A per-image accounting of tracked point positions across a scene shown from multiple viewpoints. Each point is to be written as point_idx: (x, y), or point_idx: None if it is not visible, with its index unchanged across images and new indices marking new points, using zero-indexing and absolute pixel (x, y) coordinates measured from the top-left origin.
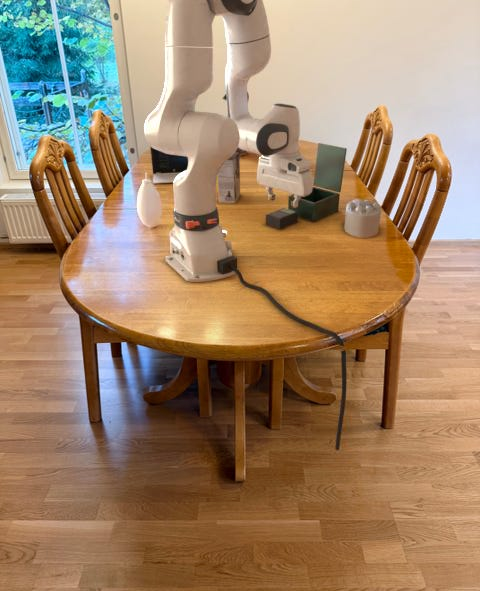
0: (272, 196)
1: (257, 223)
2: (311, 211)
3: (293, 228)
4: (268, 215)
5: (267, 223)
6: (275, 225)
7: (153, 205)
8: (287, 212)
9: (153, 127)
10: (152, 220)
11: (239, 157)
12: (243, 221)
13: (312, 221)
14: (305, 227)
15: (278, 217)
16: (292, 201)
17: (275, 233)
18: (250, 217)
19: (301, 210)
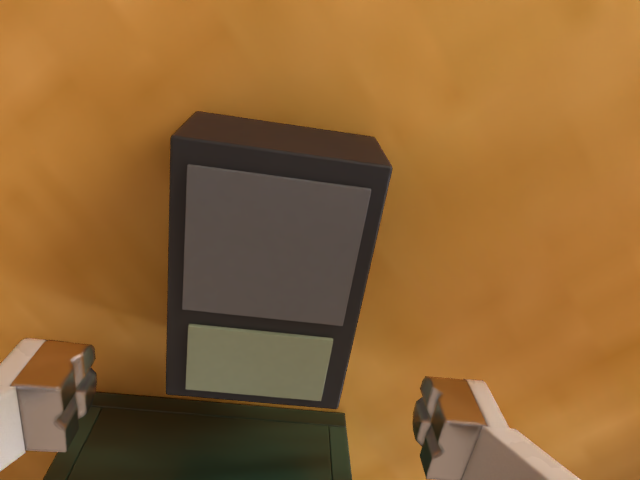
0: (437, 423)
1: (461, 124)
2: (89, 460)
3: (122, 211)
4: (357, 171)
5: (353, 139)
6: (245, 124)
7: None
8: (231, 335)
9: None
10: None
11: None
12: (609, 87)
13: (103, 393)
14: (63, 283)
15: (215, 172)
16: (47, 403)
17: (167, 3)
18: (583, 207)
19: (204, 452)
